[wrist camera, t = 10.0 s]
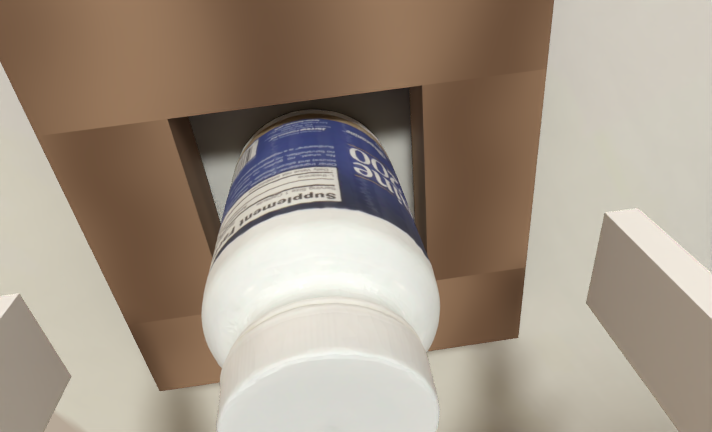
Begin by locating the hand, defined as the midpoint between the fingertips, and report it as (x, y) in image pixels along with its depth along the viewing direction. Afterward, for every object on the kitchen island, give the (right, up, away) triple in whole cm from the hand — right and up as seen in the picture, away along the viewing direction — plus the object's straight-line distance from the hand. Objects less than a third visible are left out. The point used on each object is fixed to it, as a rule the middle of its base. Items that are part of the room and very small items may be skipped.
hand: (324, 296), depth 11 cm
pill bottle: (-1, +3, +6) cm, 7 cm away
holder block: (-1, +3, +5) cm, 6 cm away
